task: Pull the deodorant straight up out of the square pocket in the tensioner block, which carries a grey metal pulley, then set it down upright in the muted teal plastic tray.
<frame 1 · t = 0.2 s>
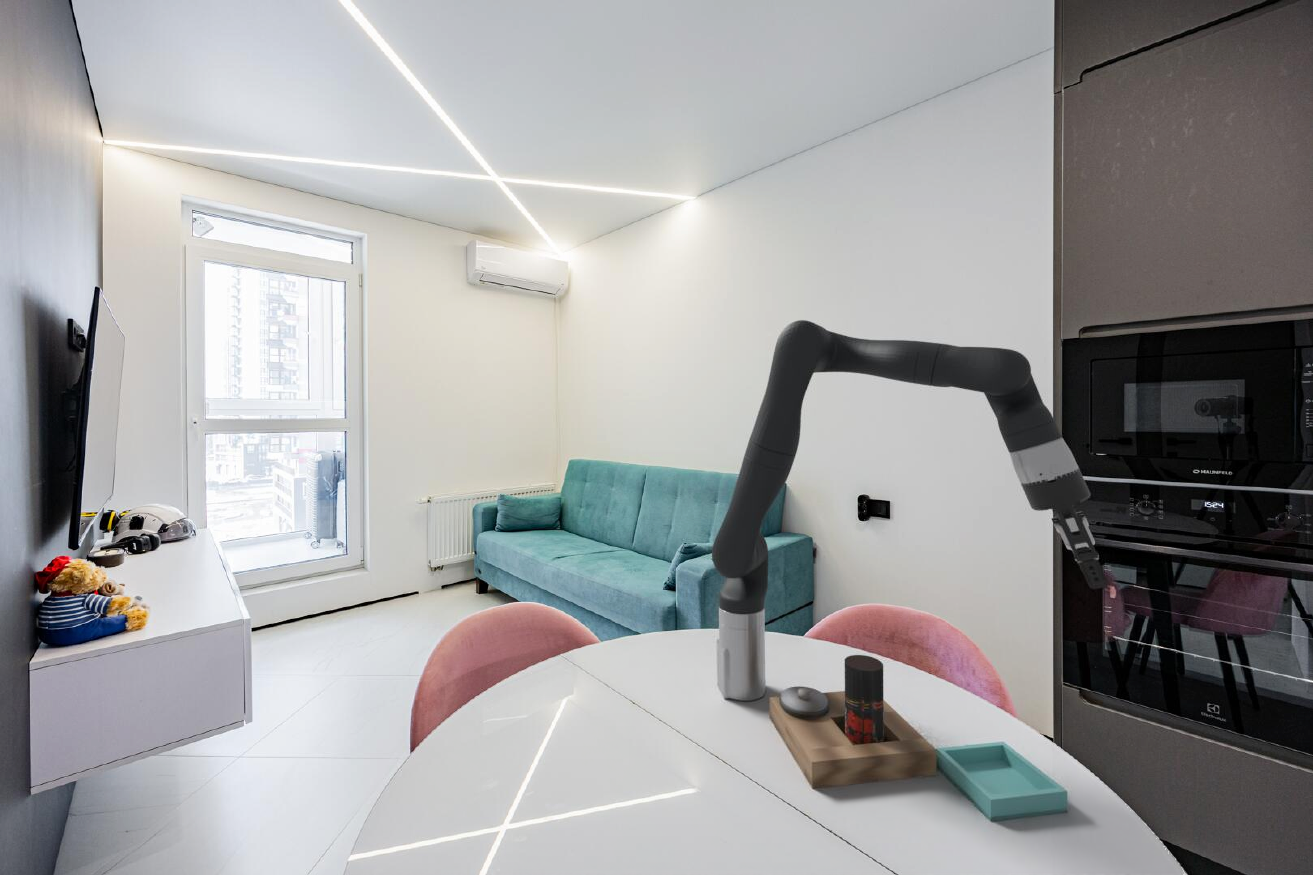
hand: (1095, 579, 78), 31 cm above the table, tool tilted 20°, fingers open, 8 cm apart
deodorant: (864, 753, 88), resting in tensioner block
tensioner block: (864, 752, 88), on the table
tray: (997, 787, 79), on the table
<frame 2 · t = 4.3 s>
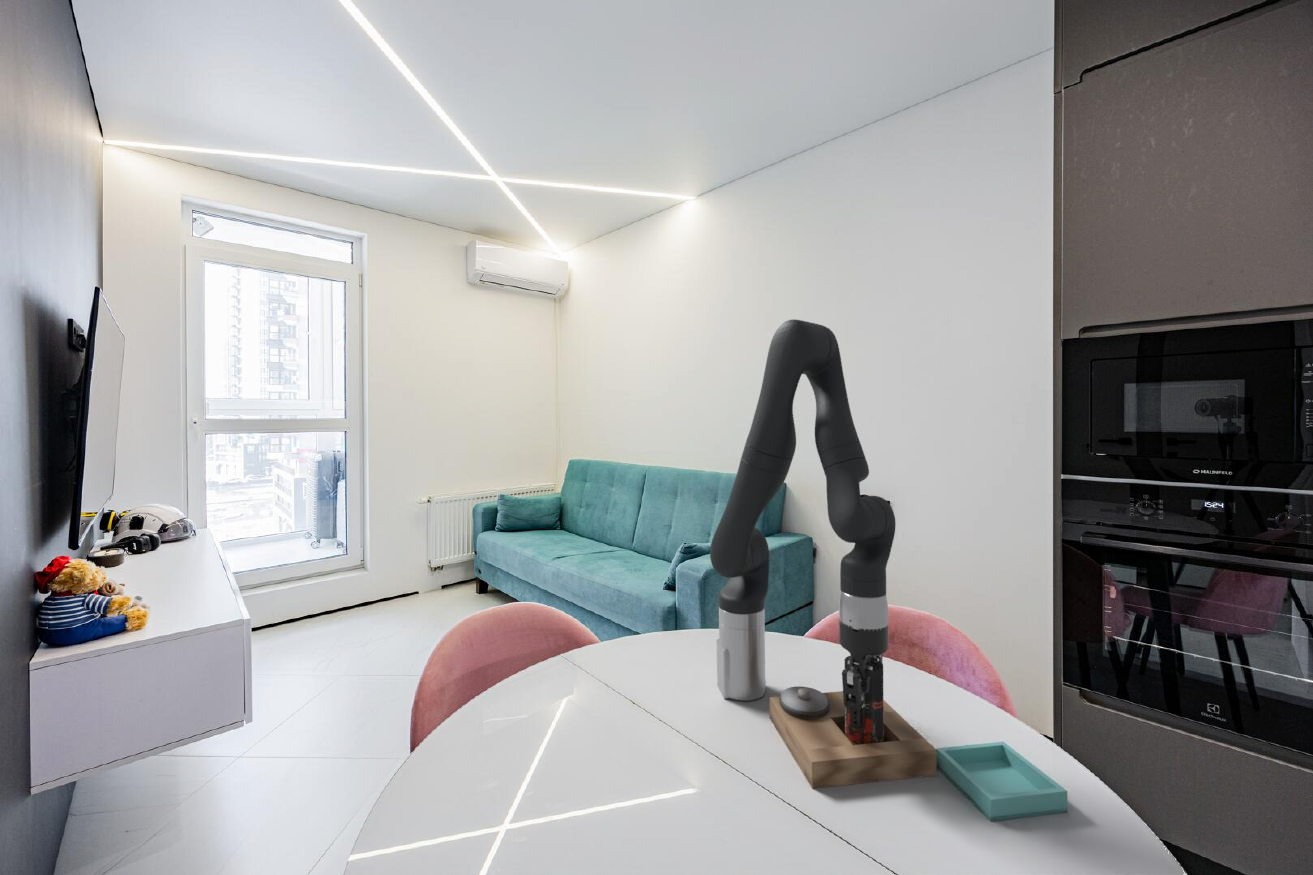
hand: (863, 718, 88), 6 cm above the table, tool pointing down, fingers closed on deodorant, 6 cm apart
deodorant: (864, 753, 88), resting in tensioner block, touching gripper
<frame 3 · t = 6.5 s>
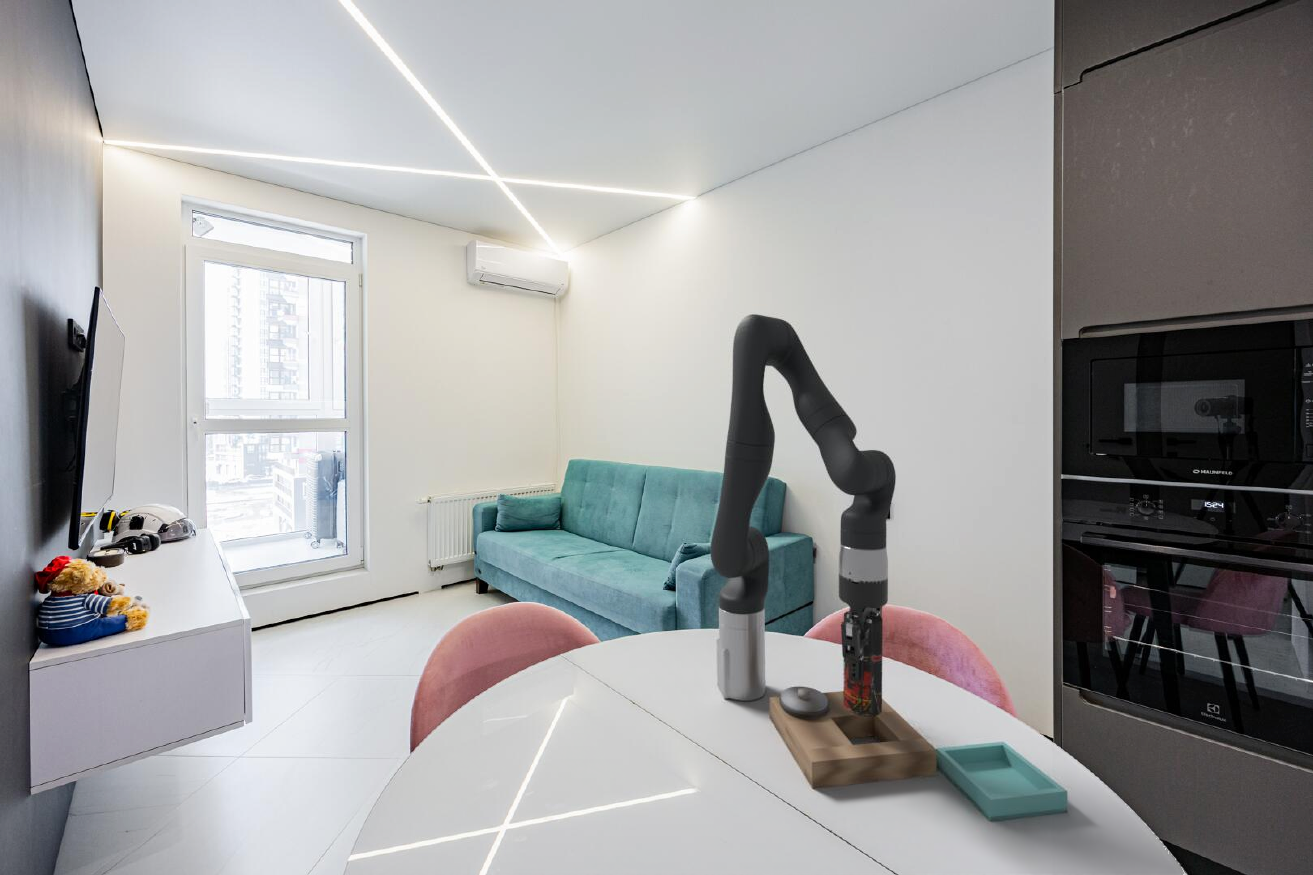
hand: (862, 673, 88), 13 cm above the table, tool pointing down, fingers closed on deodorant, 6 cm apart
deodorant: (862, 707, 88), point 7 cm above the table, touching gripper
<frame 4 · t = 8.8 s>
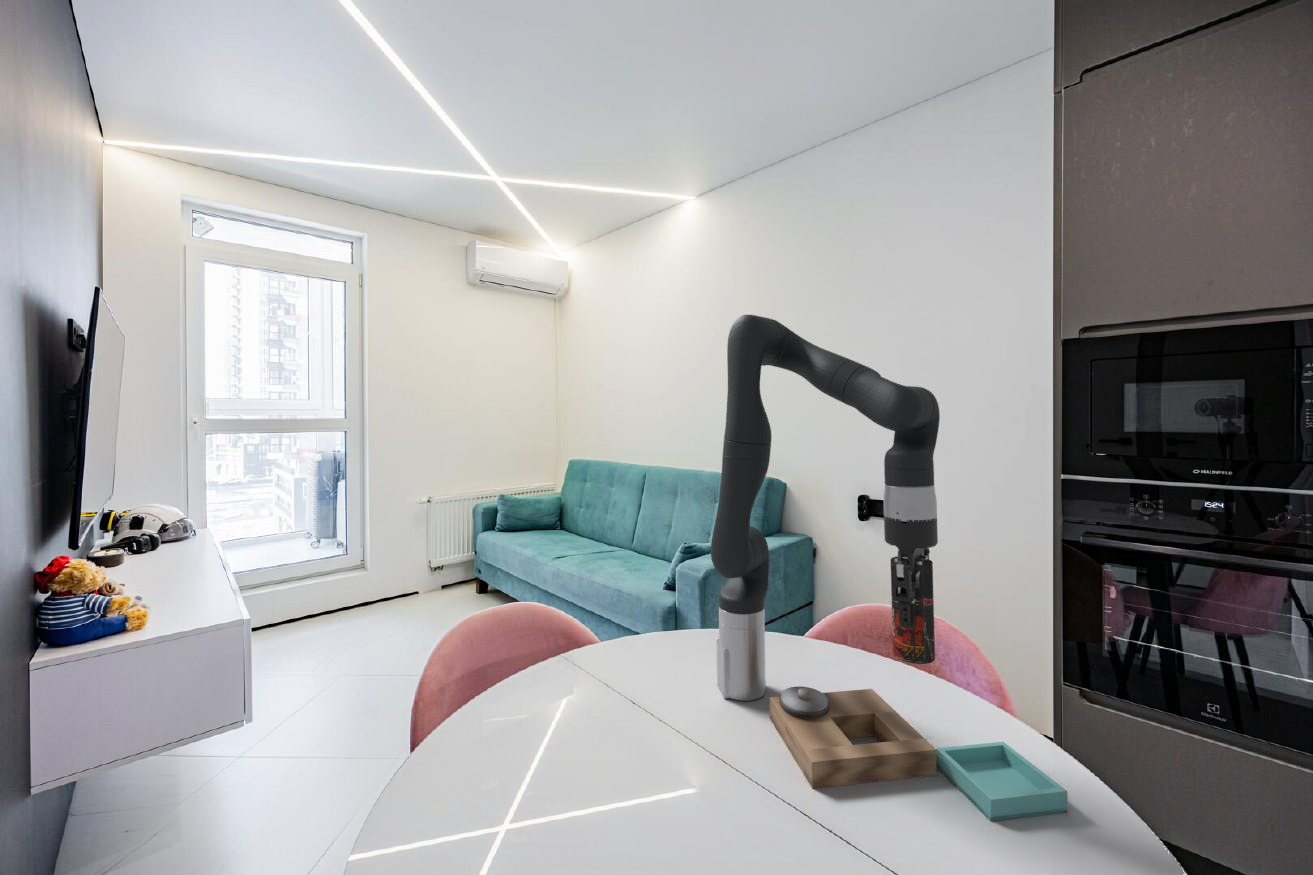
hand: (912, 620, 84), 23 cm above the table, tool pointing down, fingers closed on deodorant, 6 cm apart
deodorant: (913, 656, 84), point 18 cm above the table, touching gripper
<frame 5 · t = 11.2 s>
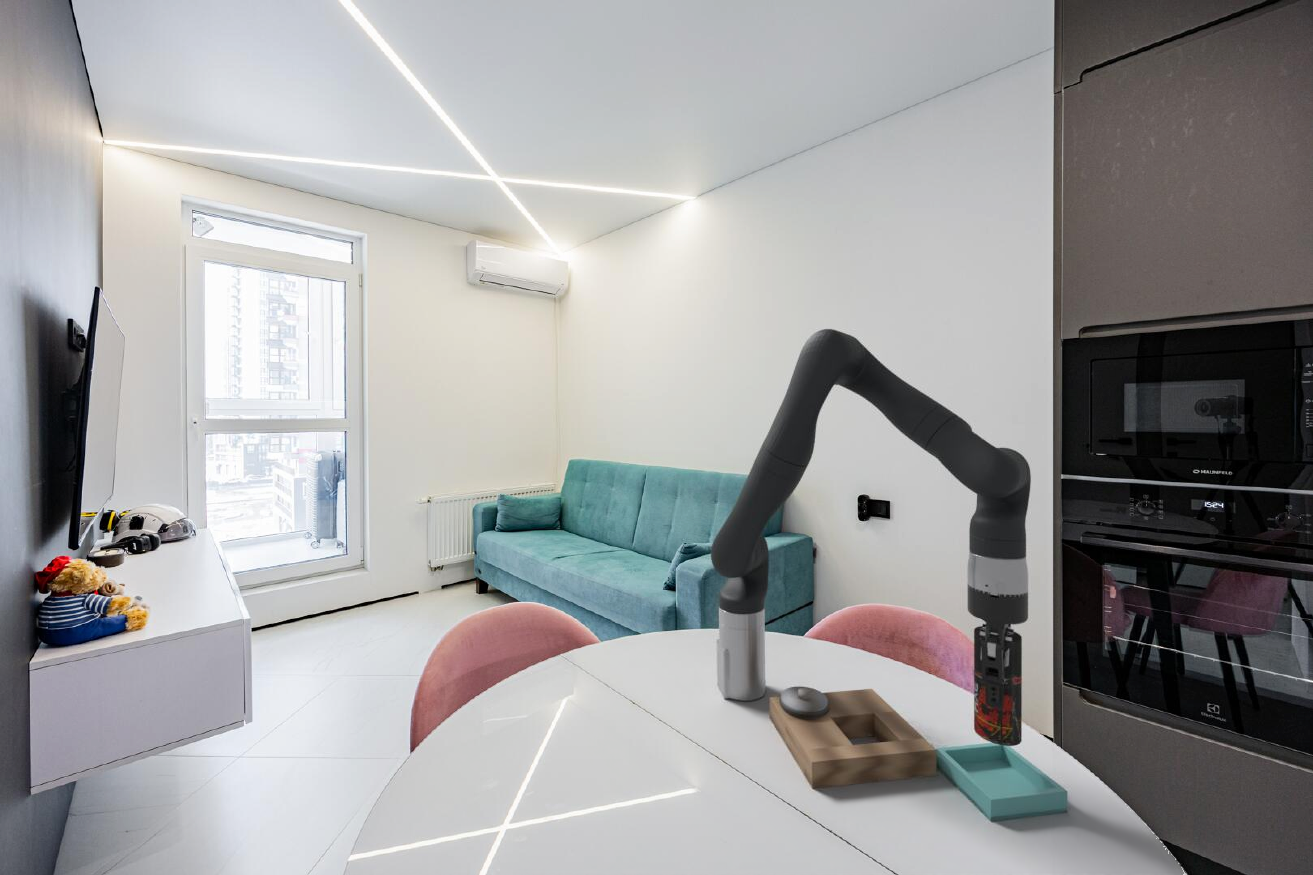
hand: (997, 696, 79), 14 cm above the table, tool pointing down, fingers closed on deodorant, 6 cm apart
deodorant: (997, 735, 79), point 8 cm above the table, touching gripper
when the fingers open (8 cm above the table, at t = 13.3 s): deodorant drops 1 cm, resting on tray.
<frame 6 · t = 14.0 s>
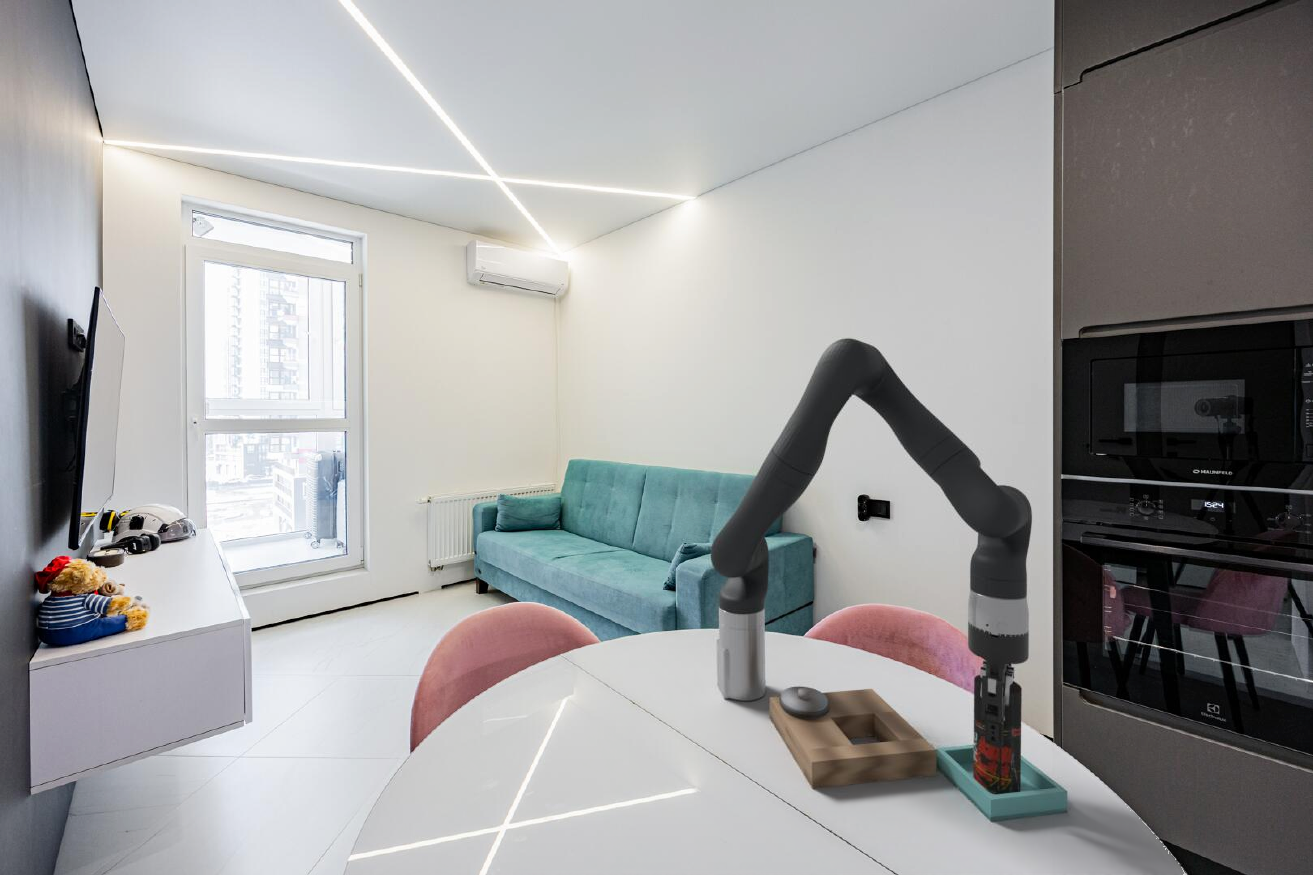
hand: (997, 730, 79), 9 cm above the table, tool pointing down, fingers open, 8 cm apart
deodorant: (996, 784, 79), resting on tray
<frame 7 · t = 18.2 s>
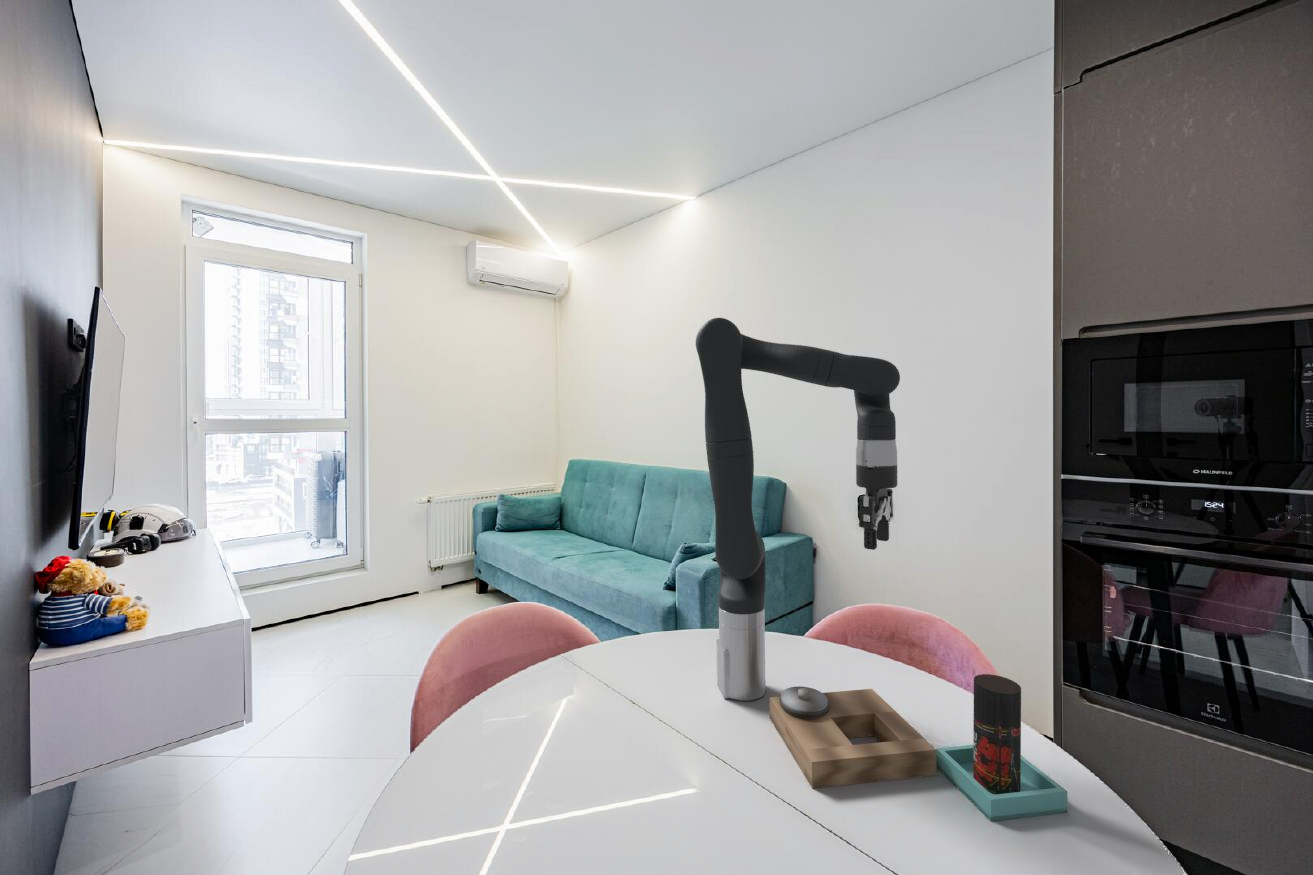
hand: (876, 544, 106), 30 cm above the table, tool pointing down, fingers open, 8 cm apart
nothing on the table moved.
at the end: deodorant inside the target area on the tray (0.2 cm from its centre), point 0.4 cm above the tray's base; deodorant tilted 0°; the gripper is holding nothing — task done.
